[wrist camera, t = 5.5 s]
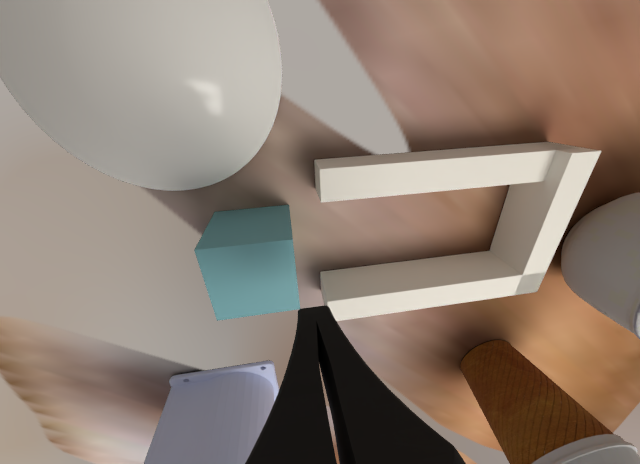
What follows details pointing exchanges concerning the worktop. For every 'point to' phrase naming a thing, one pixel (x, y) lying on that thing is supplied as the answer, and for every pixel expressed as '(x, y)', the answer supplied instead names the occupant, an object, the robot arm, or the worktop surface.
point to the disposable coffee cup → (537, 412)
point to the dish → (147, 83)
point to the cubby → (464, 269)
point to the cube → (249, 262)
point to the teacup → (607, 260)
